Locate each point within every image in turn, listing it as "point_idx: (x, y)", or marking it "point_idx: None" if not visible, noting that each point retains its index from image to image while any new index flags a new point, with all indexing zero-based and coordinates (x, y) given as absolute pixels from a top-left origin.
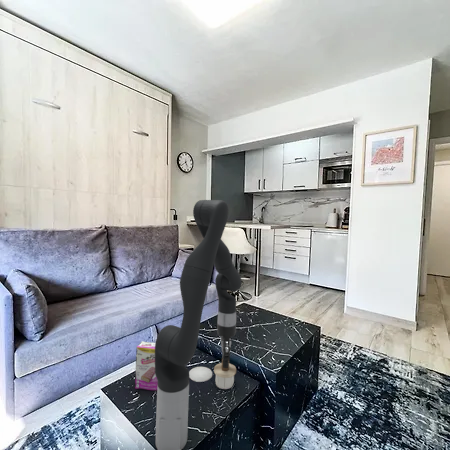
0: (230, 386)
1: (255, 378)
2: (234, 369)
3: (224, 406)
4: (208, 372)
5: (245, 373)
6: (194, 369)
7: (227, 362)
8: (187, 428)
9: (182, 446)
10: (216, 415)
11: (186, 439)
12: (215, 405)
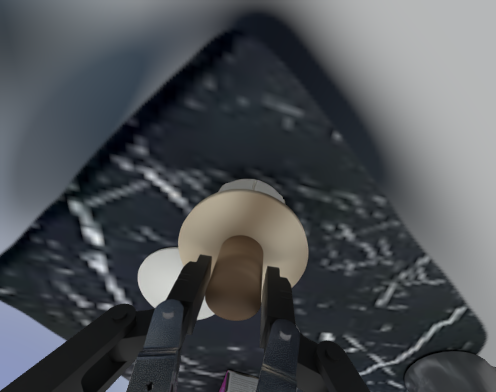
0: (284, 201)
1: (224, 42)
2: (252, 204)
3: (379, 241)
4: (175, 261)
5: (177, 93)
6: (157, 301)
7: (293, 307)
8: (493, 387)
9: (492, 368)
10: (411, 273)
11: (481, 362)
12: (363, 267)
